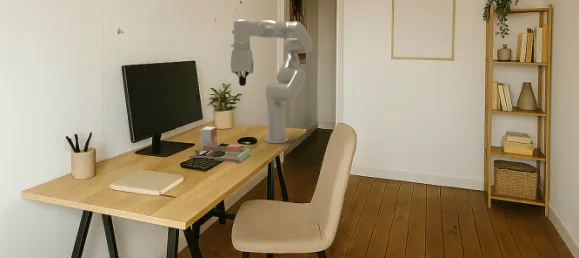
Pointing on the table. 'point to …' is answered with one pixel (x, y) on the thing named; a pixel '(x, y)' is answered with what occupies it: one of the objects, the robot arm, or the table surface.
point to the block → (234, 148)
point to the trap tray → (227, 157)
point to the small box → (208, 136)
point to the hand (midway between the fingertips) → (242, 85)
